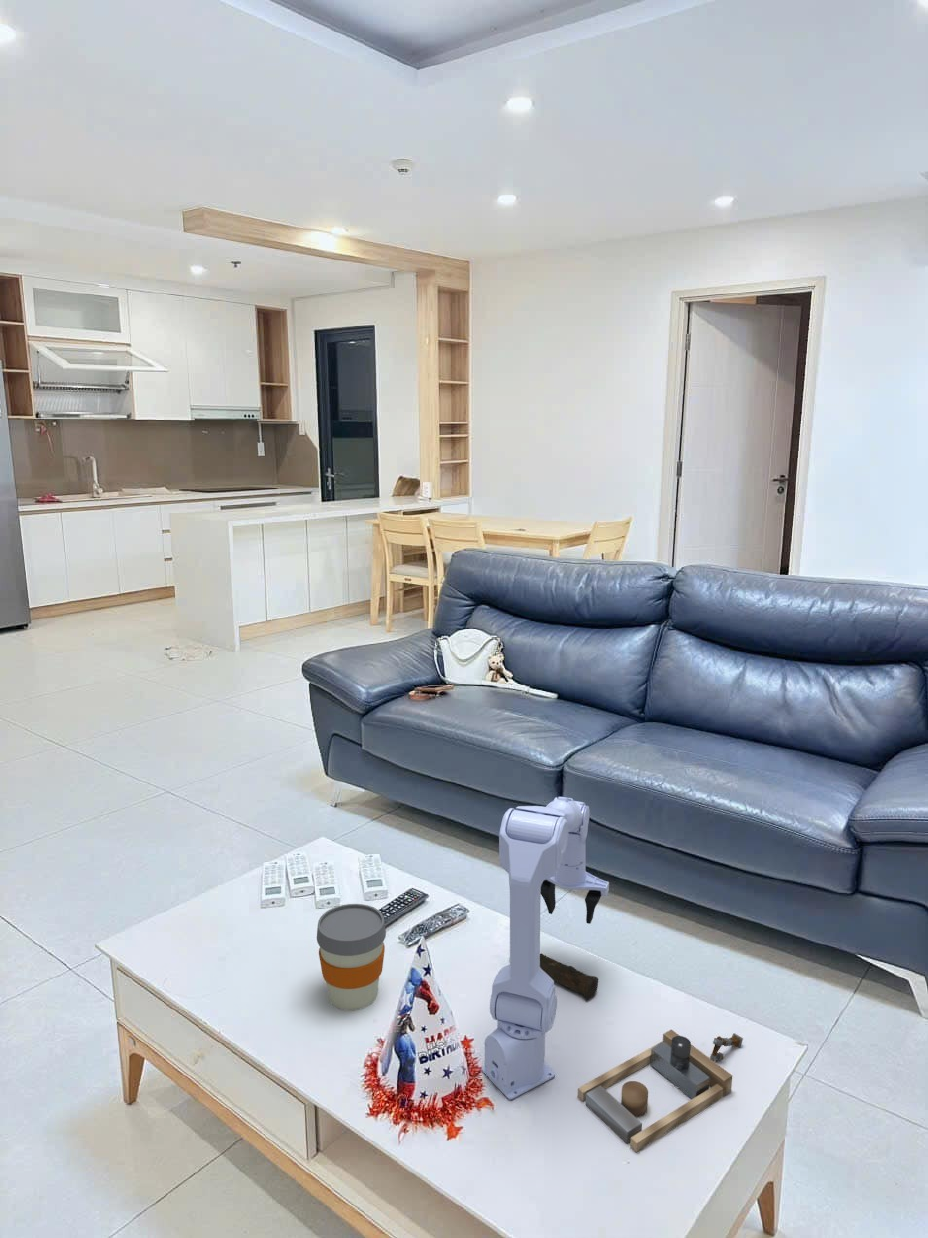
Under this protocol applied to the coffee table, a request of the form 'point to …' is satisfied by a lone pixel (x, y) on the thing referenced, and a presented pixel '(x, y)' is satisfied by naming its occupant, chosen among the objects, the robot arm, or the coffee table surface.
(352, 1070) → the coffee table surface
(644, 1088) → the brown wooden cylinder
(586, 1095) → the vise frame
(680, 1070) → the block
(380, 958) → the reusable coffee cup
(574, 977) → the dark brown log
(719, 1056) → the jointed folding linkage
